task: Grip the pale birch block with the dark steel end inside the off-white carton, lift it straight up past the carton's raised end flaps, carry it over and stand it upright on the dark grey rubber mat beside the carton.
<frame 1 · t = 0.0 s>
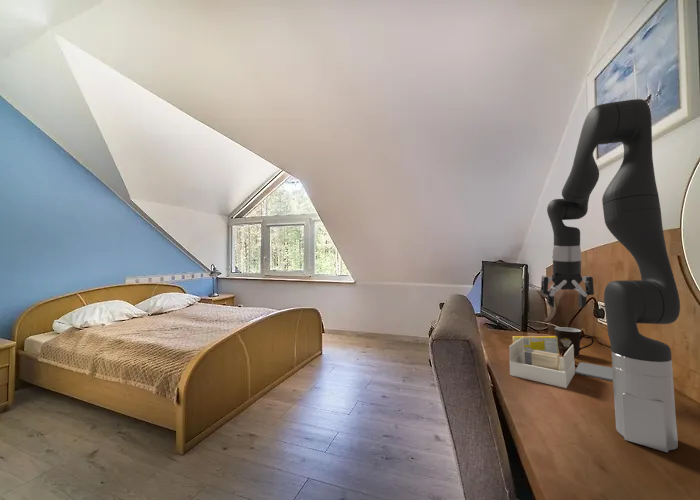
hand: (566, 306, 97), 22 cm above the table, tool pointing down, fingers open, 8 cm apart
candy box: (535, 358, 114), on the table
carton: (542, 374, 97), on the table
rubber mat: (602, 373, 97), on the table
birch block: (542, 363, 97), in the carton
coffee mug: (572, 356, 115), on the table
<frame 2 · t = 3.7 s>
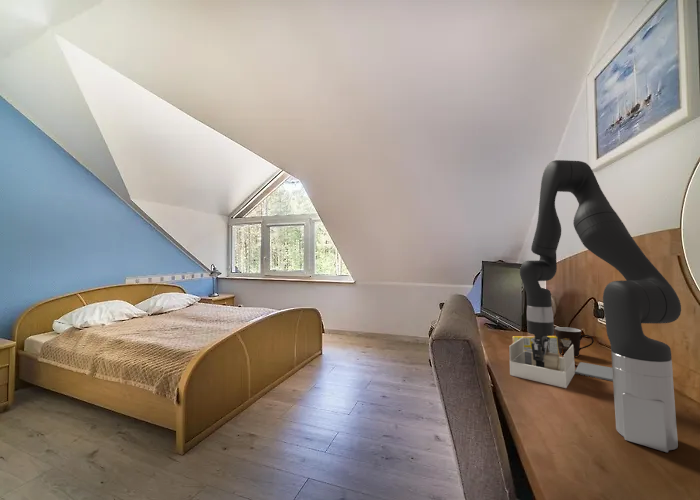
hand: (542, 370, 97), 1 cm above the table, tool pointing down, fingers closed on birch block, 4 cm apart
birch block: (542, 363, 97), in the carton, touching gripper
everything else where it was.
when the fingers open (3 cm above the table, at t = 12.1 s): birch block stays where it is, resting on rubber mat.
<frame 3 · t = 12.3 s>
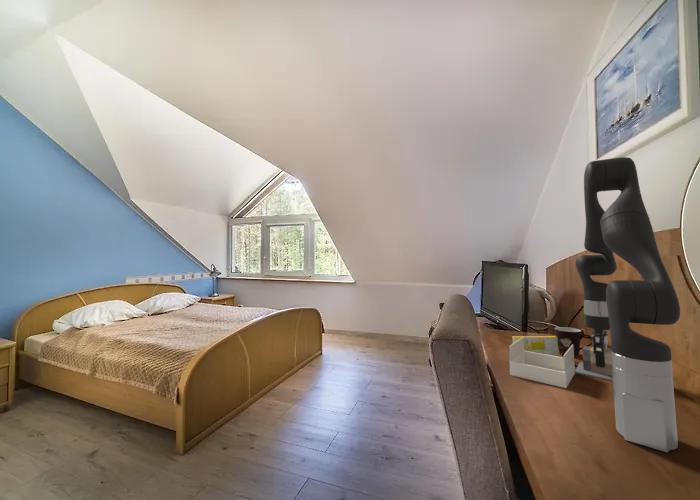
hand: (601, 364, 97), 3 cm above the table, tool pointing down, fingers open, 6 cm apart
birch block: (601, 360, 97), on the rubber mat, point 4 cm above the table
everything else where it was.
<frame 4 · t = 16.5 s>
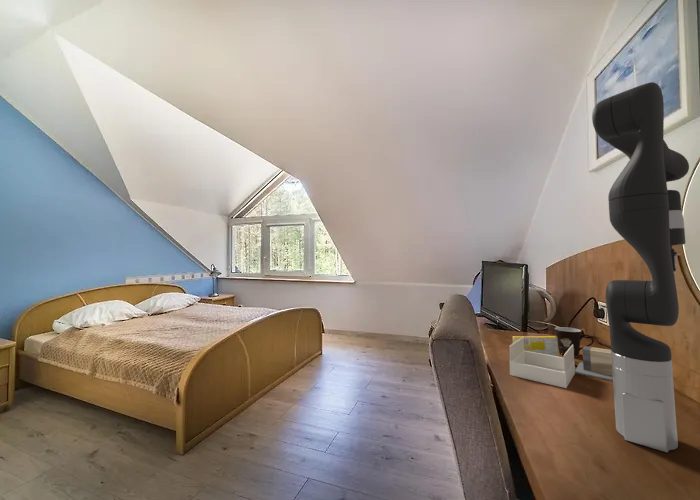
hand: (668, 286, 80), 30 cm above the table, tool pointing down, fingers open, 8 cm apart
nothing on the table moved.
at the end: birch block inside the target area (0.2 cm from its centre), point 4.1 cm above the table; birch block tilted 0°; the gripper is holding nothing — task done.
